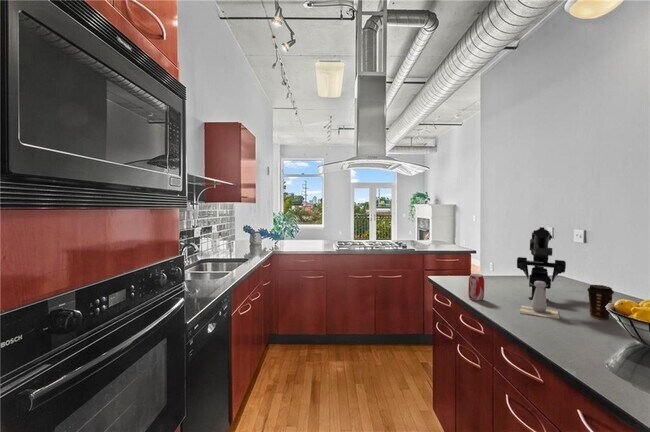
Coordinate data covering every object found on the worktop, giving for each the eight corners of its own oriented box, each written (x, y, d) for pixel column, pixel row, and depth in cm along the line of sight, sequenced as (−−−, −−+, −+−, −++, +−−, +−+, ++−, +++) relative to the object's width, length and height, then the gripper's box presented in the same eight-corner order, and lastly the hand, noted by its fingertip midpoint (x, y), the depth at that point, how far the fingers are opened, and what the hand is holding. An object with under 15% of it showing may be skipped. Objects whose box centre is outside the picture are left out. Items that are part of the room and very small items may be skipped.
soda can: (485, 301, 167) (486, 276, 167) (469, 300, 169) (470, 276, 168) (481, 298, 174) (482, 274, 174) (466, 297, 176) (467, 273, 175)
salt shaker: (528, 309, 155) (529, 279, 154) (540, 308, 155) (541, 279, 155) (537, 313, 149) (538, 282, 149) (550, 313, 150) (551, 282, 149)
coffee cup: (608, 315, 148) (609, 285, 148) (617, 321, 140) (618, 289, 140) (583, 313, 151) (584, 283, 151) (591, 319, 143) (592, 287, 143)
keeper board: (521, 305, 162) (521, 304, 162) (557, 310, 154) (557, 309, 154) (519, 313, 150) (519, 312, 150) (559, 319, 142) (559, 318, 142)
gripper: (517, 239, 163) (515, 266, 154) (566, 242, 154) (567, 271, 145) (518, 254, 170) (516, 281, 161) (564, 258, 161) (565, 286, 152)
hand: (540, 279), depth 154 cm, fingers open, 9 cm apart
